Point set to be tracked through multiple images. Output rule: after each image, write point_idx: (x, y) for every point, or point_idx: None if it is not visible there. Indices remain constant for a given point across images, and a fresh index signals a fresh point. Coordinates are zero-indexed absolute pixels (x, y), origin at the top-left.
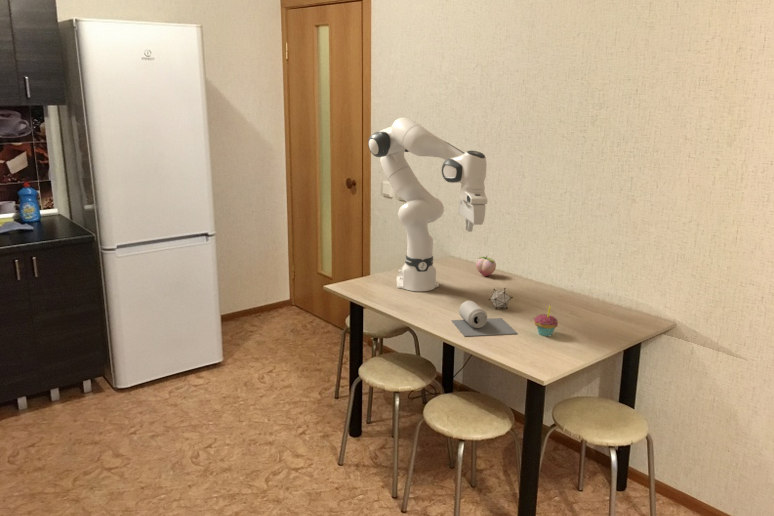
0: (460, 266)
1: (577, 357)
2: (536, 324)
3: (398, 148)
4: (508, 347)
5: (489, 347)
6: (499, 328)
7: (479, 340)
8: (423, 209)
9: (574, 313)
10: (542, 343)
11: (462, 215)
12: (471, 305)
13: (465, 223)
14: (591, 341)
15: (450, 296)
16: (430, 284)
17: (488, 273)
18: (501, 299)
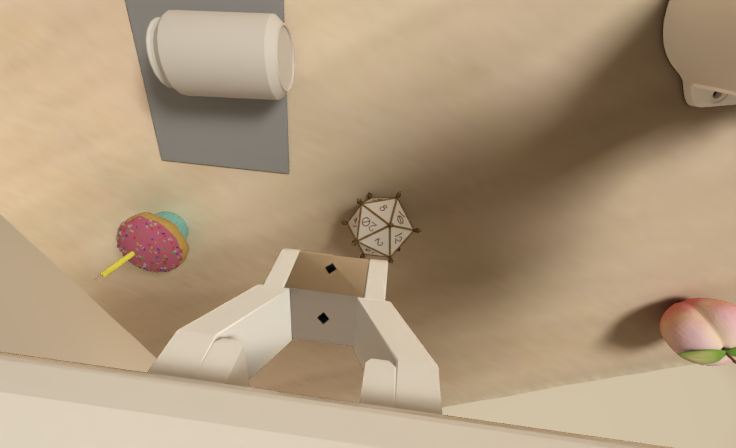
0: None
1: (27, 219)
2: (138, 214)
3: None
4: (51, 82)
5: (36, 17)
6: (198, 125)
7: (93, 8)
8: None
9: (306, 344)
10: (102, 188)
11: (548, 446)
12: (207, 49)
13: (403, 320)
14: (132, 290)
15: (551, 100)
16: (688, 45)
17: (665, 313)
18: (354, 220)
